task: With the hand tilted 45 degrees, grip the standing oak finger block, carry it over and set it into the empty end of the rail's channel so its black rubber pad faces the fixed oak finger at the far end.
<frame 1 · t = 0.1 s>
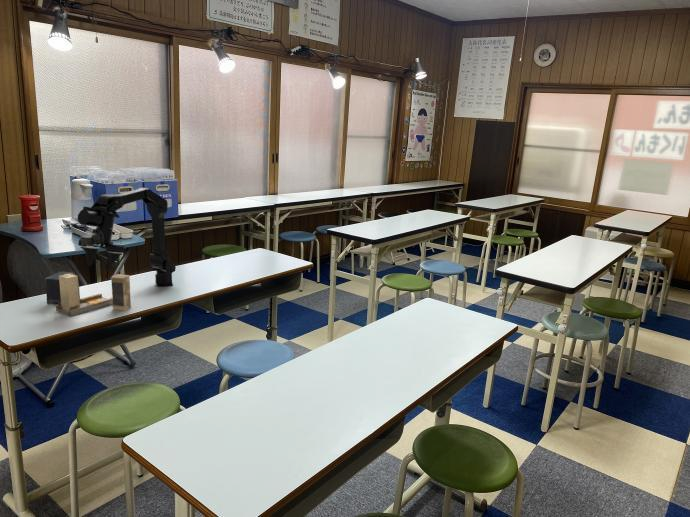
hand: (98, 268, 193), 15 cm above the table, tool pointing down, fingers open, 9 cm apart
small box: (62, 300, 201), on the table
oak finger: (122, 308, 196), on the table
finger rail: (86, 307, 195), on the table
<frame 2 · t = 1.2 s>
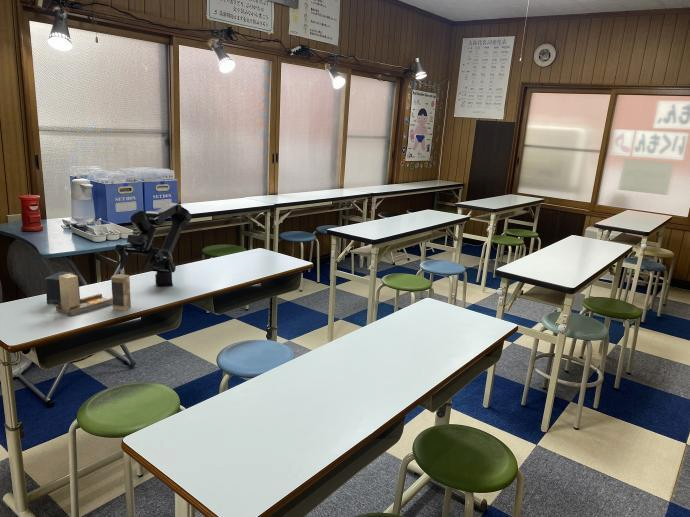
hand: (131, 270, 200), 13 cm above the table, tool tilted 45°, fingers open, 9 cm apart
nothing on the table moved.
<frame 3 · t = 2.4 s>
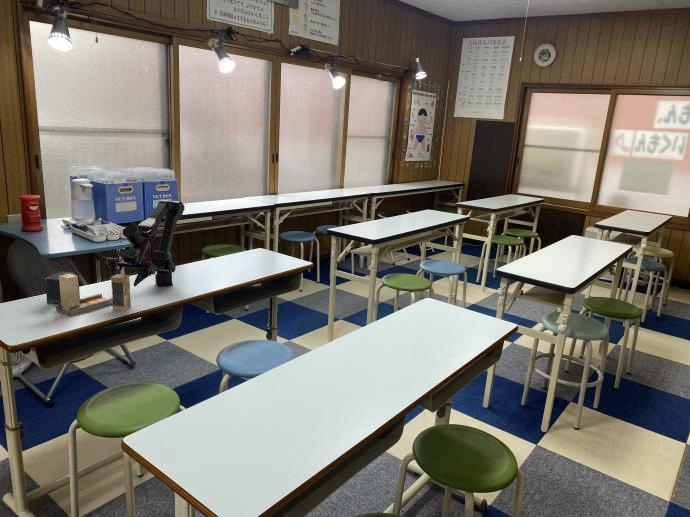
hand: (123, 284, 195), 9 cm above the table, tool tilted 45°, fingers open, 9 cm apart
nothing on the table moved.
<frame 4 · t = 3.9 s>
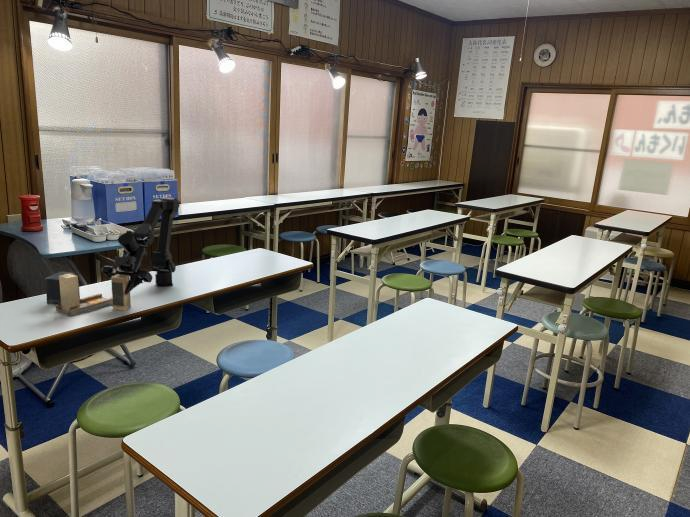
hand: (119, 293, 193), 7 cm above the table, tool tilted 45°, fingers closed on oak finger, 5 cm apart
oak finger: (122, 308, 196), on the table, touching gripper
everything else where it was.
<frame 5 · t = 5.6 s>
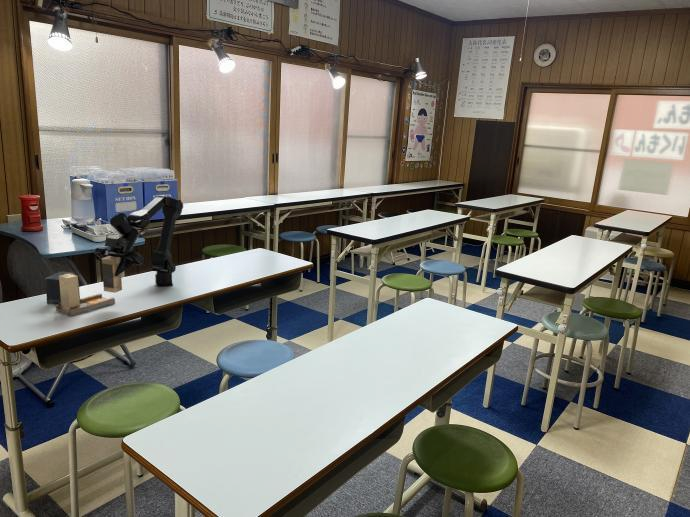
hand: (109, 275, 192), 13 cm above the table, tool tilted 45°, fingers closed on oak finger, 5 cm apart
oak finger: (113, 290, 195), point 7 cm above the table, touching gripper
everything else where it was.
when the fingers open (9 cm above the table, at t = 7.7 s): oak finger drops 1 cm, resting on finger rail.
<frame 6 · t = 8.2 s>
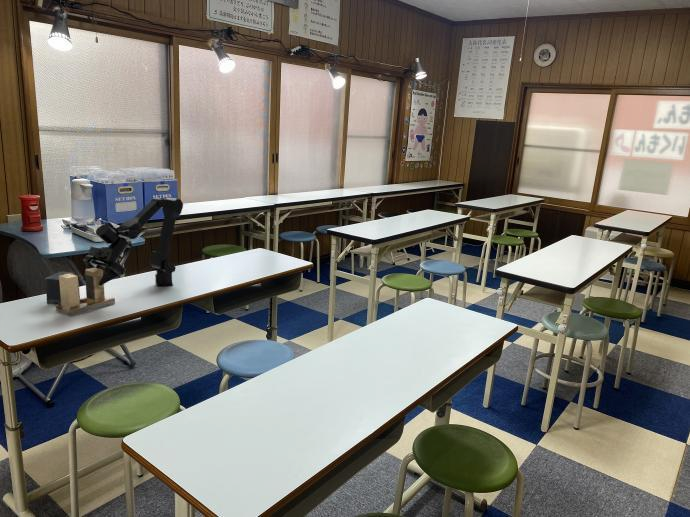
hand: (91, 283, 195), 9 cm above the table, tool tilted 45°, fingers open, 9 cm apart
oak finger: (96, 301, 198), point 1 cm above the table, touching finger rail
everything else where it was.
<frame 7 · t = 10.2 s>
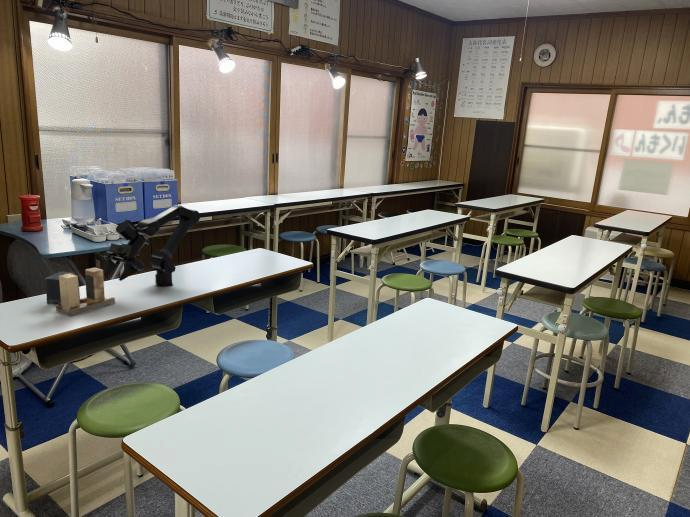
hand: (112, 278, 203), 9 cm above the table, tool tilted 45°, fingers open, 9 cm apart
nothing on the table moved.
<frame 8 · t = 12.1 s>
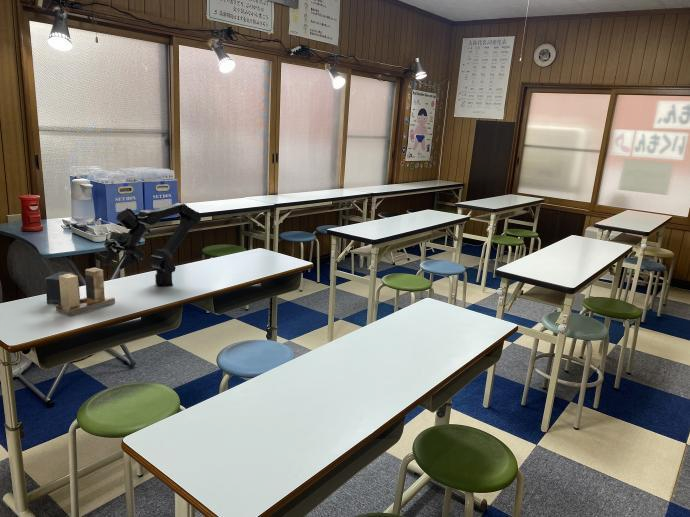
hand: (112, 266, 202), 14 cm above the table, tool tilted 45°, fingers open, 9 cm apart
nothing on the table moved.
at the end: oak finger 0.1 cm from the target spot, point 1.1 cm above the table; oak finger tilted 0°; the gripper is holding nothing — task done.
